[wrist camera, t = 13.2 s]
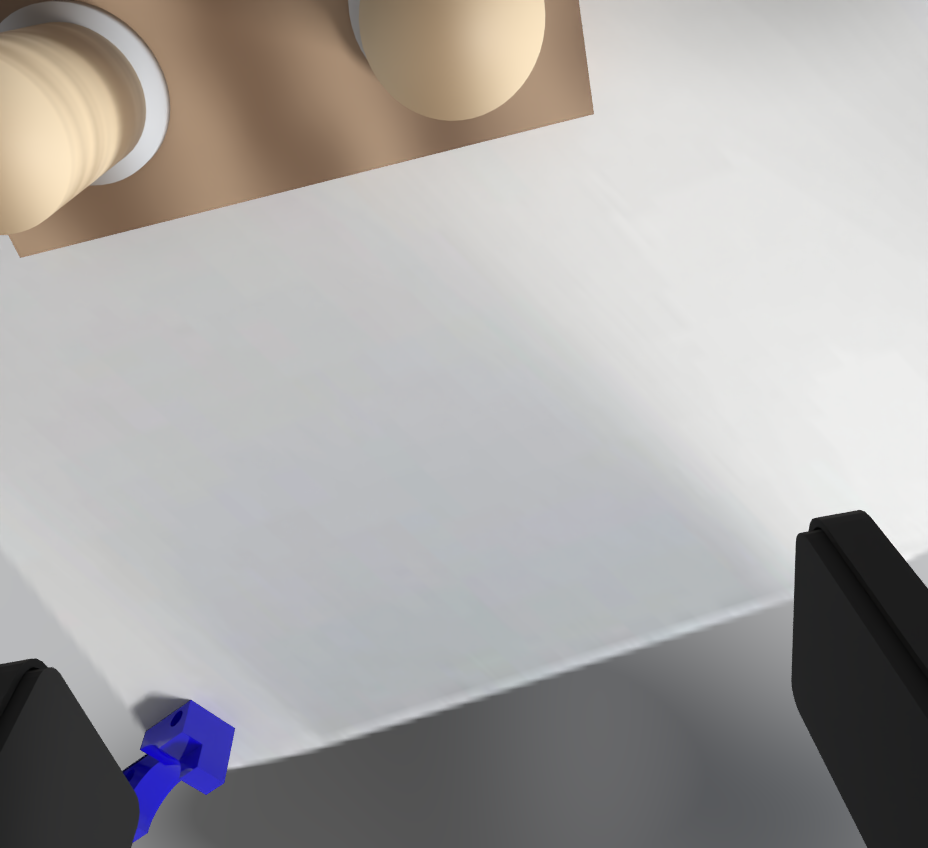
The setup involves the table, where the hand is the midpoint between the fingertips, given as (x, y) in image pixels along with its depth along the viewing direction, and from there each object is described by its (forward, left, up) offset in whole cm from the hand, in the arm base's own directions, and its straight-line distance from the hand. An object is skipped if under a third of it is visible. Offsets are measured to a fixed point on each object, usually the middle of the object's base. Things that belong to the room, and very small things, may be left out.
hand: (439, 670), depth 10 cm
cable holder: (+23, +30, -28) cm, 47 cm away
